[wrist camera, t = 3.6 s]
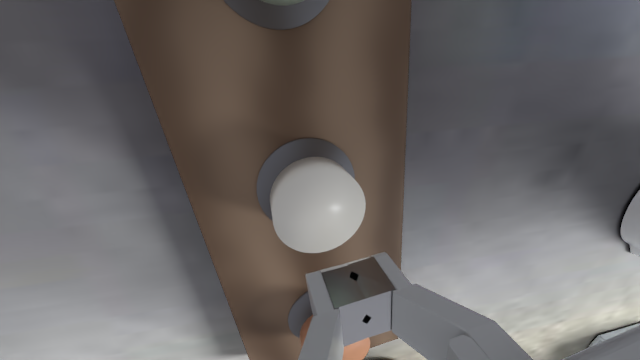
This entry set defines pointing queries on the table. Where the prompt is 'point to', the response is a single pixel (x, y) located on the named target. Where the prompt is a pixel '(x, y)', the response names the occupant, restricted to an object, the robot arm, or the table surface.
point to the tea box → (611, 334)
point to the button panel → (277, 134)
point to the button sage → (282, 2)
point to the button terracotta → (352, 352)
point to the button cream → (316, 205)
